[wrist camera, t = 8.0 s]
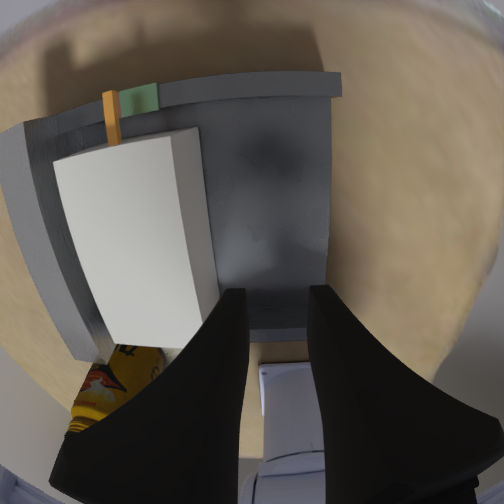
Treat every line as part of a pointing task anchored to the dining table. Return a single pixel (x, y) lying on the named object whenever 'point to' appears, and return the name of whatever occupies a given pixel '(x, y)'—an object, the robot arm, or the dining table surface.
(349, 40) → the dining table surface
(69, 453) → the robot arm
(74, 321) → the gauge frame
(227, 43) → the dining table surface
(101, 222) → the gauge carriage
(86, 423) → the condiment
